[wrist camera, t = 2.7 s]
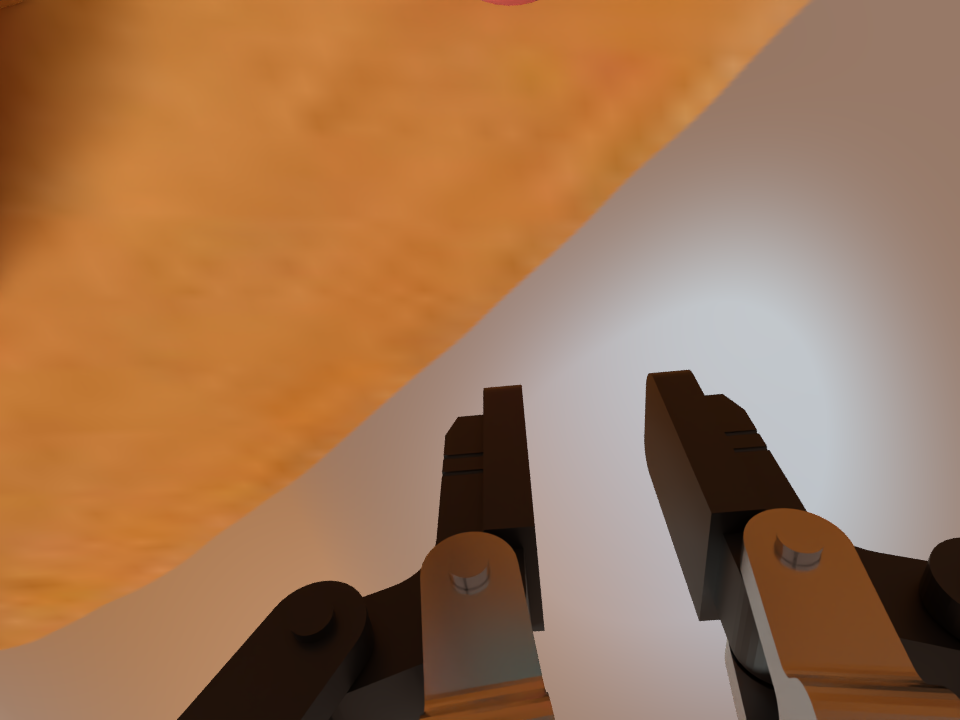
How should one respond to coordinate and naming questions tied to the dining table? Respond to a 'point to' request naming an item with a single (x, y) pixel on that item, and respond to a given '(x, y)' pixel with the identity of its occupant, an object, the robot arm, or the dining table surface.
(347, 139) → the dining table surface
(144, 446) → the dining table surface
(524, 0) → the ball
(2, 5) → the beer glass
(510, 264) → the dining table surface
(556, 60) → the dining table surface
